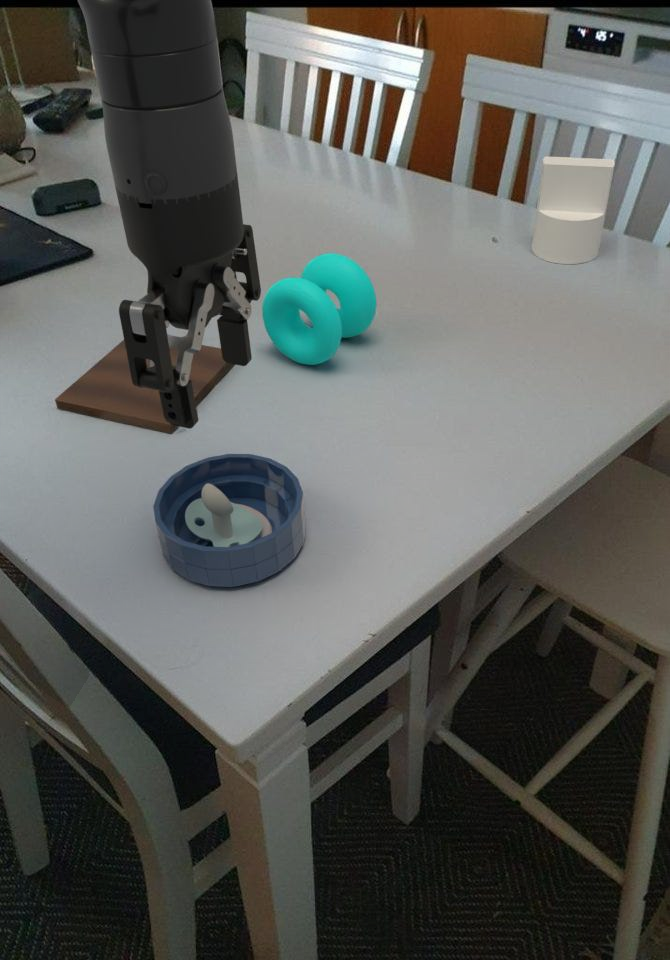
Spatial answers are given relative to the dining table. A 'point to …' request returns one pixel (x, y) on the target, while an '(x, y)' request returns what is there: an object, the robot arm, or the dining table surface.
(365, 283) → the donuts
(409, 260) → the dining table surface
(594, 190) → the cylinder with rectangular tab
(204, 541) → the bowl
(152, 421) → the board
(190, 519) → the pacifier
